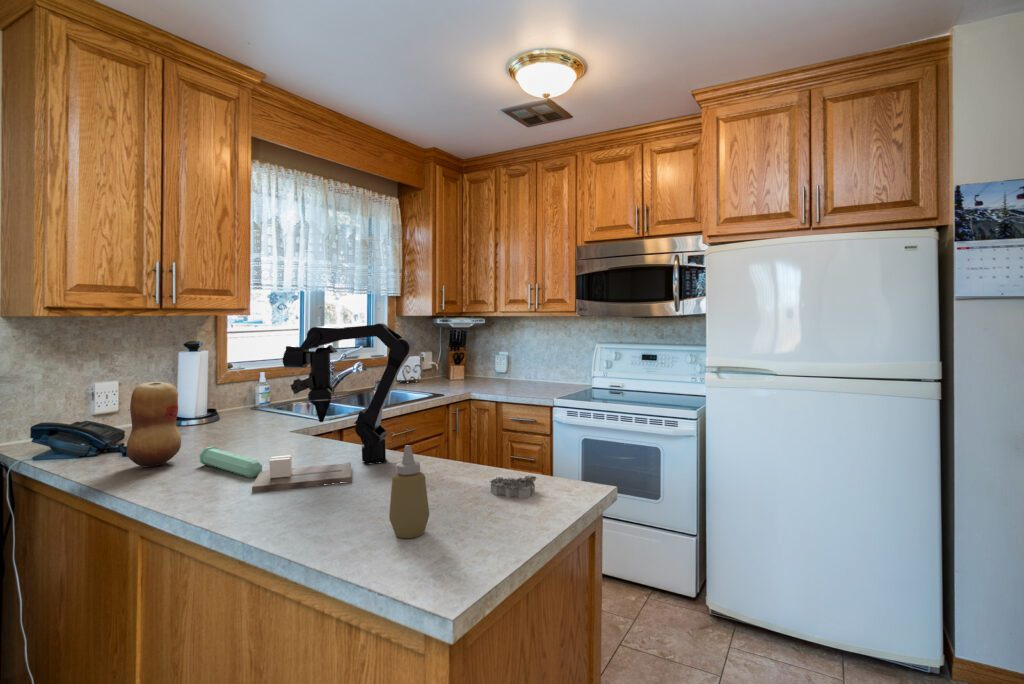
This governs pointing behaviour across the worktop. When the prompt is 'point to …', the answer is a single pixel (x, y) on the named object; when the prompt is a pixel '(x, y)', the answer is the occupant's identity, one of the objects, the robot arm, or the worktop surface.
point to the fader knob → (280, 466)
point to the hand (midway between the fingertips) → (322, 419)
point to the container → (230, 462)
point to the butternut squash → (153, 424)
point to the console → (304, 477)
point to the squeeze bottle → (408, 498)
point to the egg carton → (513, 486)
